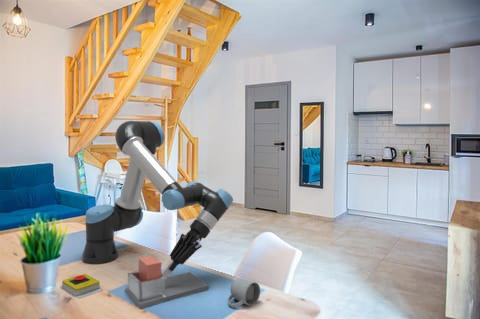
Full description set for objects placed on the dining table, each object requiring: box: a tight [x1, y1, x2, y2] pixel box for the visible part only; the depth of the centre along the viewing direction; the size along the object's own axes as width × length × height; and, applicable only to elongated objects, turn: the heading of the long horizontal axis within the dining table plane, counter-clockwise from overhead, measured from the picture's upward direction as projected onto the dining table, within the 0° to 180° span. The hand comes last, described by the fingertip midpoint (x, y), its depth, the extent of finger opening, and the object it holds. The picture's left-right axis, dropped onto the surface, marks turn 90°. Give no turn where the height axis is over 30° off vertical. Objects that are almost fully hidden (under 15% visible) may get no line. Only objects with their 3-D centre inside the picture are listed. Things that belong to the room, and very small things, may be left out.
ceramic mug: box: [226, 277, 261, 309], centre depth 122 cm, size 11×8×8 cm
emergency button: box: [60, 273, 104, 299], centre depth 131 cm, size 9×4×15 cm
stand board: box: [124, 271, 210, 310], centre depth 130 cm, size 15×26×2 cm, turn 126°
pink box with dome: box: [138, 255, 162, 282], centre depth 126 cm, size 8×6×11 cm
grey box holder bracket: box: [127, 270, 165, 302], centre depth 125 cm, size 11×9×6 cm
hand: (162, 276), depth 129 cm, fingers closed
